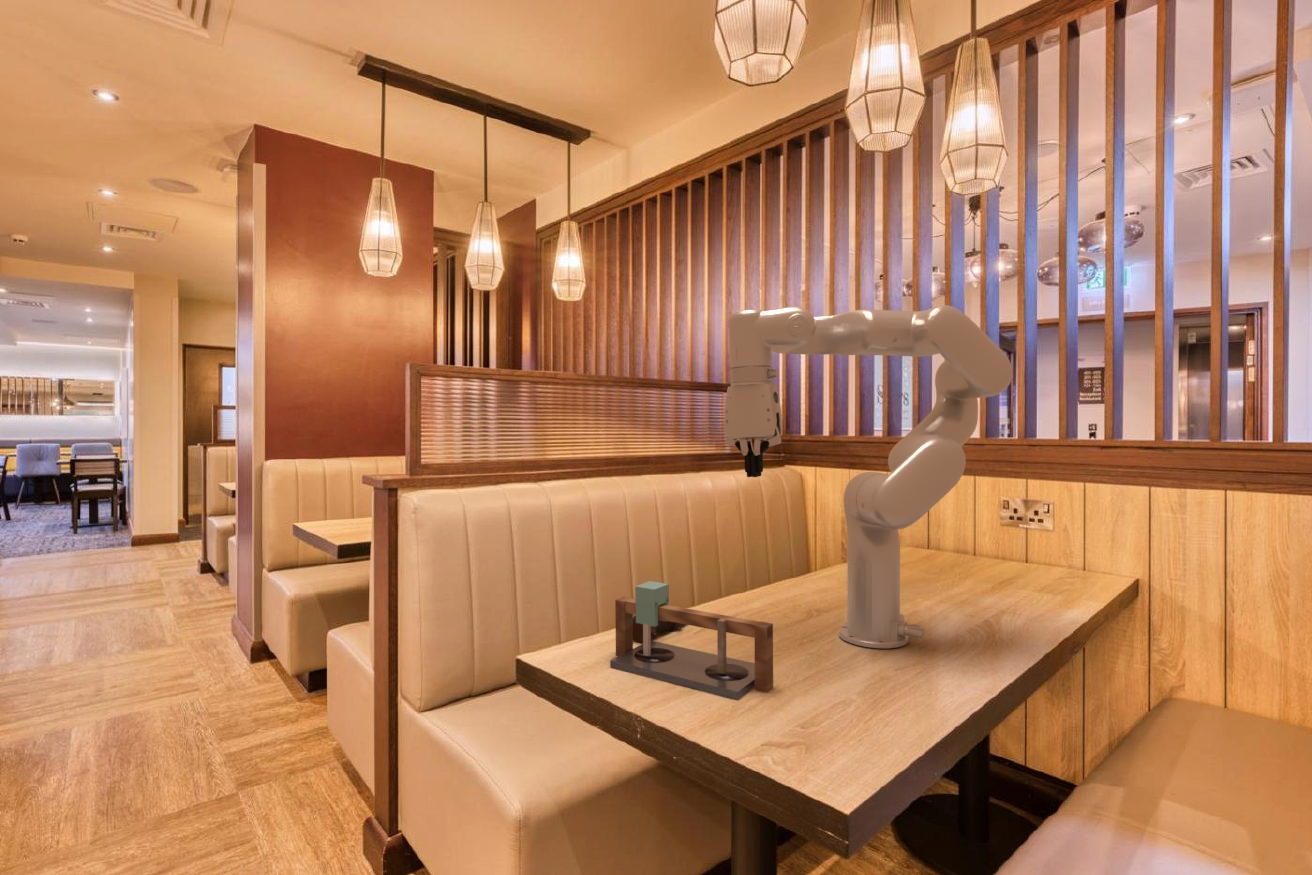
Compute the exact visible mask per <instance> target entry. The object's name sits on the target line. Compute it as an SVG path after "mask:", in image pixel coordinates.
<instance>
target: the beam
mask: <svg viewBox="0 0 1312 875" xmlns="http://www.w3.org/2000/svg"><path fill="white" fill-rule="evenodd" d="M614 601H615V604H614V605H615V607H614V609H615V612H614V613H615V614H614V615H615V657H618V656H620V655H622V654H624V653H626V652H628V651H630V650H632V649H634V648H633V647H634V641H633V617H634V616H635V615H636V604H635V598H631V597H627V596H622V597H618V598H616V599H615V600H614ZM658 619H661V620H666V621H671V622H676V623H681V624H682V625H687V626H691V627H692V626H693V627H697V628H702V629H708V630H712V631H717V633H716V634H717V640H716V641H717V642H716V643H717V655H718V673H722V674H724V673H725V672H726V657H727V633H728V634H733V635H734V634H735V635H739V636H743V637H750V638H753V639H754V663H755V687H754V691H758V692H763V693H768V692H769V691H771V690H772V689H773V688H774V623H771V622H766V621H758V620H753V619H748V618H747V619H746V618H742V617H736V616H730V615H724V614H720V613H715V612H714V613H713V612H708V611H702V610H697V609H692V608H686V607H681V606H674V605H670V604H669V605H664V604H661V605H659V606H658Z"/></svg>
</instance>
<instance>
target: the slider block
mask: <svg viewBox="0 0 1312 875" xmlns="http://www.w3.org/2000/svg"><path fill="white" fill-rule="evenodd" d="M634 587H635V590H634V591H635V598H634V599H635V604H636V623H640V624H643V655H645V656H649V655H651V626H654V627H656V626H658V620H661V619H658V606H659V605H661V604H664V605H670V603H669V602H670V585H669V583H664V582H658V581H651V580H649V581H646V582H644V583H641V584H637V585H635V586H634ZM661 621H666V620H661Z"/></svg>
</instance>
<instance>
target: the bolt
mask: <svg viewBox="0 0 1312 875" xmlns="http://www.w3.org/2000/svg"><path fill="white" fill-rule="evenodd" d="M682 625H683V624H681V623H676V622H671V621H661V620H658V626H656V627H654V626H651V641H653V638H654V637H655V635H656V634H659V633H661V632H664V631H671V632H676V631H678V630H680V629H681V627H682ZM633 643H636V644H640V645H642V644H643V624H640V623H636V615H635V614H634V615H633Z"/></svg>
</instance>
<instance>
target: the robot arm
mask: <svg viewBox="0 0 1312 875" xmlns="http://www.w3.org/2000/svg"><path fill="white" fill-rule="evenodd" d="M728 338H729V339H728V341H729V342H728V343H729V366H730V371H729V372H730V386H727V389H726V396H725V402H724V420H723V421H724V422H723V423H724V424H723V425H724V434H725V436H726V437H725V438H726V439H725V444H726V445H727V446H731V447H736V448H737V449H738V450H739V452H741V455H743V456H744V471H745V473H746V477H747V478H758V477H759V478H760V477H761V476H762V473H763V471H764V460H763V458H764V457H763V455H765V453H766V451H767V450H768V449H769V448H770V447H773V446H776V445H779V444H781V443H782V437H781V435H783V418H782V417H783V416H782V407H781V401H780V396H779V391H778V386H777V384H776V383H773V381H774V380H773V379H774V378H778V377H779V370H778V369H773V367H772V361H771V360H772V358H771V351H772V352H774V353H777V354H783V355H784V354H785V355H811V356H812V355H816V356H817V355H818V356H819V355H831V356H832V355H838V356H892V357H893V356H894V357H895V356H896V357H917V358H918V357H920V358H921V357H929V356H935V355H939V354H940V355H941V356H942V357H943V359H944V360H943V361H942V363H941V364H940V365H939V366H938V368H937V370H936V373H935V375H934V376H935V379H934V385H935V394H936V397H935V404H934V406H933V407H932V409H931V411H930V412H929V413H927V415H926V416H925V417H924V418H923V420H921V421H920V422H919V423H918V424H917V425H916V426H915V427H913V428H912V430H910V431H909V432H908V433H907V434H906V435H905V436H904V437H902V438H901V439H900V440H899V441H898V442H897V443H896V444H895V445H894V446H893V447H892V449H891V450H890V451H889V454H888V459H887V464H888V469H889V470H890V473H889V474H887V473H884V472H883V473H882V472H877V471H876V472H875V471H866V472H865V471H864V472H862V473H859V474H857V475H855V476H854V477H852V478H851V479H850V480H849V481H848V482H847V485H846V486H845V489H844V493H843V511H844V517H845V523H846V524H845V525H846V535H847V537H846V538H847V555H846V556H847V557H846V559H847V560H846V561H847V562H846V564H847V565H846V566H847V570H846V572H847V573H846V574H847V578H846V579H847V583H846V584H847V590H846V591H847V597H846V598H847V599H846V601H847V602H846V603H847V611H846V612H847V623H846V624H843V625H841V626H840V627H839V628H838V635H839V637H840V639H842V640H843V641H845V642H847V643H848V644H849V643H850V644H852V645H856V646H858V647H864V648H871V649H895V648H900V647H903V646H906V645H907V644H909V642H910V641H909V638H910V637H912V638H917V639H924V637H925V628H924V627H921V624H918V623H908V621H905V615H904V614H901V542H900V541H901V540H900V533H899V530H903V529H906V528H909V527H910V526H912V525H913V524H915V523H916V522H918V521H919V520H920V519H921V518H922V517H924V515H926V514H927V513H928V512H929V511H930V510H931V509H932V508H933V507H934V506H935V505H937V504H938V503H939V502H940V501H941V500H942V499H943V498H944V497H945V496H946V495H948V493H949V492H950V491H952V490H953V489H954V488H955V487H956V485H957V484H958V483H959V482H960V480H961V478H962V476H963V474H964V472H965V468H966V465H967V464H966V454H965V452H964V451H965V450H964V449H963V448H962V447H963V446H964V444H966V443H967V442H968V440H969V439H970V438H971V436H973V434H974V432H975V431H976V428H977V425H978V420H979V402H978V399H979V398H980V399H981V398H990V397H991V398H992V397H995V396H997V395H999V394H1001V393H1003V392H1005V391H1006V389H1008V387H1009V386H1010V384H1011V382H1012V380H1013V367H1012V364H1011V361H1010V359H1009V358H1008V357H1007V354H1006V353H1005V352H1004V351H1003V350H1002V349H1001V348H1000V347H999V346H998V345H997V344H996V343H995V342H994V341H993V340H992V339H991V338H990V337H989V336H988V335H987V334H986V332H984V330H982V328H980V327H979V326H978V325H977V324H976V323H975V322H974V321H973V320H972V319H971V318H970V317H968V316H967V314H965V313H963V311H961V310H960V309H958V308H957V307H954V306H952V305H946V304H941V305H936V306H934V307H931V308H928V309H925V310H919V311H918V310H891V309H889V310H888V309H887V310H886V309H869V308H866V309H865V308H863V309H858V310H852V311H847V312H844V313H838V314H833V315H828V316H827V315H826V316H824V315H823V316H814V315H813V314H812V313H811V312H810V311H809V310H808V309H805V308H803V307H800V306H788V307H786V306H785V307H781V308H776V309H775V308H773V309H767V310H762V309H743V310H737V311H735V312H732V313H731V314H730V316H729V317H728ZM769 438H770V439H769ZM753 439H754V443H753V442H752V440H753Z"/></svg>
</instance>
